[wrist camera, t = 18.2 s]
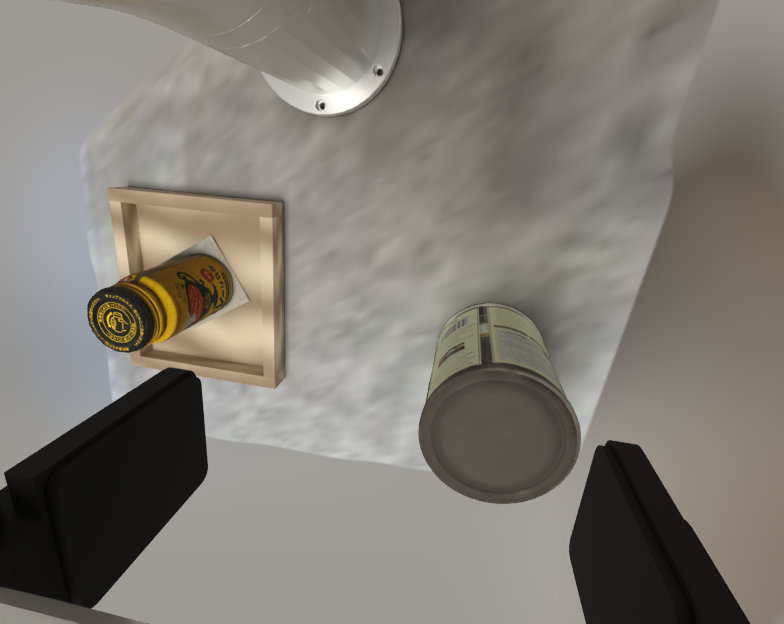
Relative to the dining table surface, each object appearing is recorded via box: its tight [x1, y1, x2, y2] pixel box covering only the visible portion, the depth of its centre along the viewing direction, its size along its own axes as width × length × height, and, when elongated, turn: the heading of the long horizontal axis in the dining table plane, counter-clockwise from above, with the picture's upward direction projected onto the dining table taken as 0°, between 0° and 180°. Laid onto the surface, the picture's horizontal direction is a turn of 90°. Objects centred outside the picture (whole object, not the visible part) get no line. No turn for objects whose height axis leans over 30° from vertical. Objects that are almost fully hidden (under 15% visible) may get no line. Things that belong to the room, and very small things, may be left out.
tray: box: [107, 187, 285, 389], centre depth 43 cm, size 18×16×2 cm
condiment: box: [88, 236, 249, 353], centre depth 38 cm, size 7×8×12 cm
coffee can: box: [419, 303, 581, 504], centre depth 34 cm, size 10×10×14 cm
